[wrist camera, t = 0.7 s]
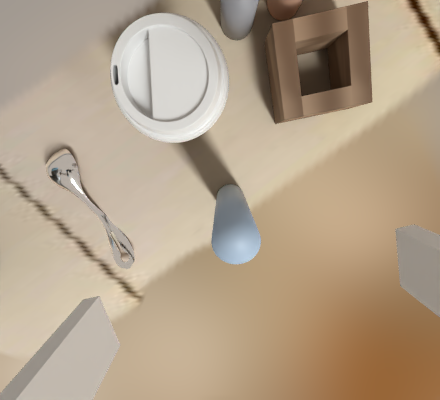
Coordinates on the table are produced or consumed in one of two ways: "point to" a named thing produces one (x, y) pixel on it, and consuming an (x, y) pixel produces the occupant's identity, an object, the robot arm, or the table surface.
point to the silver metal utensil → (86, 201)
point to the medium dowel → (283, 8)
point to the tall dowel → (234, 227)
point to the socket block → (337, 56)
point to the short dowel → (237, 17)
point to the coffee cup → (169, 77)
